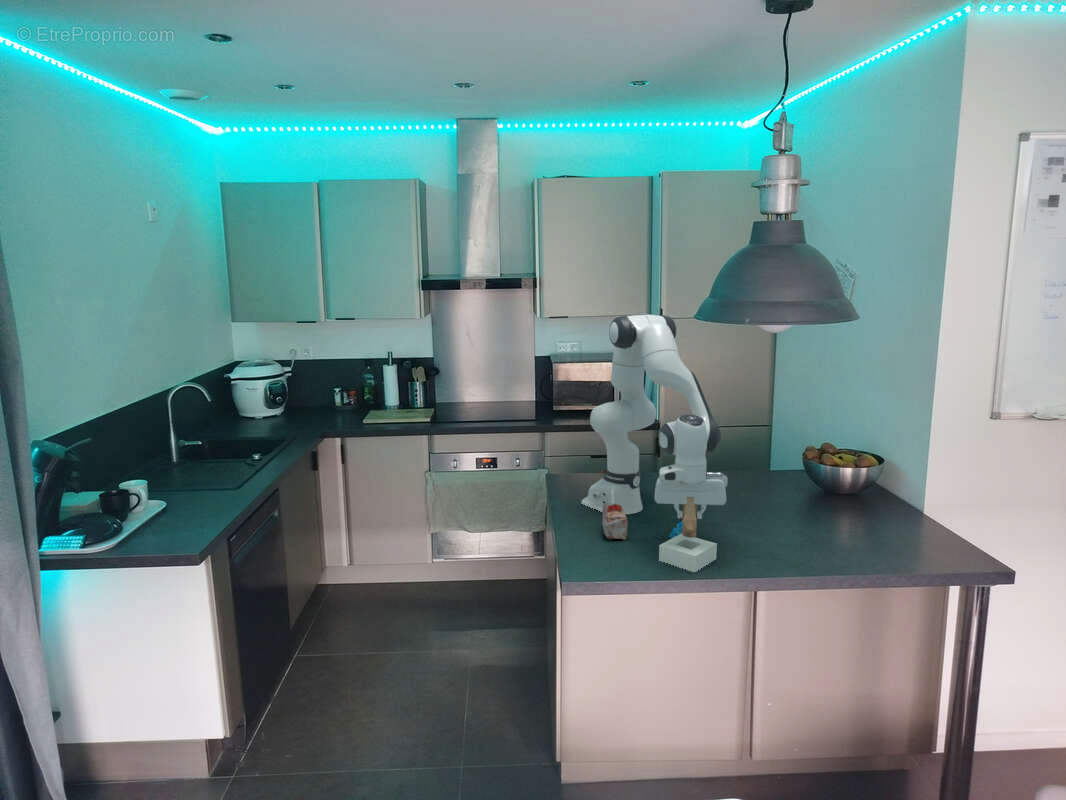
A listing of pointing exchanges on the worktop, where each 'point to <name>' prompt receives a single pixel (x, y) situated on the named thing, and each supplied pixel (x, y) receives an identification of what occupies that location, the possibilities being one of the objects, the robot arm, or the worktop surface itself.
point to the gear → (676, 530)
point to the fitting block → (687, 552)
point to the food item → (614, 521)
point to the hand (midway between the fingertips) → (689, 518)
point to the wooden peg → (689, 518)
